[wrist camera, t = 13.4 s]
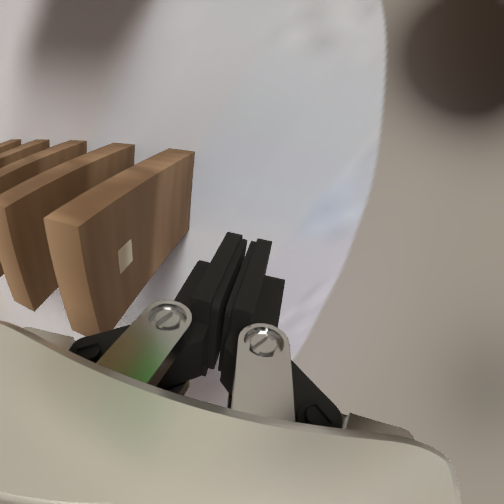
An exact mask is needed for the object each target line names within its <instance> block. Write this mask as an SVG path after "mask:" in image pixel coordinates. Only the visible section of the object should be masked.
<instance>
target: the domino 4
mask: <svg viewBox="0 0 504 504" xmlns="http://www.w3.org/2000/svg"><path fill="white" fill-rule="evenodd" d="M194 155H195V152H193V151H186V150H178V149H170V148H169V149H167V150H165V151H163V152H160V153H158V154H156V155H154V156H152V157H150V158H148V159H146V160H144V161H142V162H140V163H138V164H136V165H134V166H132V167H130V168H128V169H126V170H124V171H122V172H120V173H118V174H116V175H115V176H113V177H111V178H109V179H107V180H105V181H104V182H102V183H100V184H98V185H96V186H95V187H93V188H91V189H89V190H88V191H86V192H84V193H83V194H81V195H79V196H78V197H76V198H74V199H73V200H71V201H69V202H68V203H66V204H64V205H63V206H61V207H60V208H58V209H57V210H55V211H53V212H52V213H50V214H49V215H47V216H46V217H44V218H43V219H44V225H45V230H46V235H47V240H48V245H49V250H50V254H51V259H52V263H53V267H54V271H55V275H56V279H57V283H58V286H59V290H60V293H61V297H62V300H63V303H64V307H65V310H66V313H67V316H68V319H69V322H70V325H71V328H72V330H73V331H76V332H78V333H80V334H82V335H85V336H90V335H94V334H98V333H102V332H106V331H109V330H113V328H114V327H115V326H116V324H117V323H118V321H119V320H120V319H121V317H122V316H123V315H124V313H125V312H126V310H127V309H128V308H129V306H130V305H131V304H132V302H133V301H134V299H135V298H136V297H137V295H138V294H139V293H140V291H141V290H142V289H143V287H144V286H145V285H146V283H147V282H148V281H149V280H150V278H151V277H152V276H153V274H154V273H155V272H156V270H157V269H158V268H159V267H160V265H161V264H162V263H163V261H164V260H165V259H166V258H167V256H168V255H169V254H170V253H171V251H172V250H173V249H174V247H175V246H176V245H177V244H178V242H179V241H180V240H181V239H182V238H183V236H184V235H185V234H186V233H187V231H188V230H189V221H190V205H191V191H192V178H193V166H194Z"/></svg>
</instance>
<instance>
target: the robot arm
mask: <svg viewBox="0 0 504 504" xmlns="http://www.w3.org/2000/svg"><path fill="white" fill-rule="evenodd" d="M246 245H247V240H245V239H242V235H240V234H235V233H231V232H227V234H226V236H225V237H224V239H223V241H222V243H221V245H220V246H219V248H218V250H217V252H216V254H215V255H214V257H213V259H212V261H211V263H209V262H205V261H198V262H197V264H196V265H195V267H194V269H193V270H192V272H191V273H190V275H189V277H188V278H187V280H186V282H185V283H184V285H183V287H182V288H181V290H180V291H179V293H178V295H177V296H176V298H175V300H174V301H173V300H163V301H158V302H155V303H153V304H151V305H150V306H148V307H147V308H146V309H145V310H144V311H143V312H142V313H141V315H140V316H139V317H138V318H137V319H136V320H135V321H134V322H133V323H132V324H131V325H128V326H124V327H120V328H117V329H113V330H109V331H106V332H102V333H98V334H94V335H90V336H87V337H83V338H81V339H78V340H77V341H74V338H73V337H70V336H66V335H61V334H56V333H52V332H48V331H44V330H39V329H35V328H31V327H24V328H21V327H19V326H16V325H14V324H11V323H8V322H5V321H1V320H0V504H462V503H461V497H460V490H459V485H458V480H457V477H456V473H455V470H454V468H453V466H452V464H451V462H450V461H449V459H448V458H447V457H446V456H445V455H444V454H443V453H441V452H440V451H438V450H437V449H435V448H433V447H431V446H429V445H427V444H424V443H422V442H419V441H416V440H415V439H414V437H413V435H412V434H411V433H410V432H409V431H408V430H406V429H403V428H401V427H397V426H393V425H390V424H386V423H382V422H379V421H375V420H372V419H369V418H365V417H362V416H359V415H356V414H352V413H349V415H345V414H342V413H340V411H339V410H338V408H337V407H336V406H335V405H334V404H333V403H332V401H330V399H328V398H327V396H326V395H325V394H324V393H323V392H322V391H321V390H320V389H319V388H318V387H317V386H316V385H315V384H314V383H313V382H312V381H311V380H310V379H309V378H308V377H307V376H306V375H305V374H304V373H303V372H302V371H301V370H300V369H299V368H298V366H297V365H296V364H295V363H294V362H293V361H292V360H291V355H290V344H289V340H288V337H287V336H286V335H285V333H284V332H283V331H281V330H280V329H279V328H278V322H279V316H280V309H281V303H282V297H283V290H284V284H285V280H283V279H279V278H274V277H270V276H265V273H266V269H267V264H268V259H269V254H270V250H271V245H272V241H267V240H263V239H257V242H254V241H251V243H250V245H249V248H248V251H247V253H246V256H245V251H246ZM219 353H220V358H219V367H218V371H221V378H220V381H221V383H222V384H223V386H224V387H225V388H226V390H227V391H228V392H229V393H228V400H227V408H225V407H221V406H217V405H214V404H210V403H206V402H203V401H199V400H196V399H192V398H189V397H186V396H184V394H185V393H186V391H187V389H188V388H189V386H190V384H191V379H194V378H196V377H199V376H201V375H202V376H206V373H207V370H208V368H210V369H214V367H215V365H216V362H217V359H218V356H219Z"/></svg>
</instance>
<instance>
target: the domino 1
mask: <svg viewBox="0 0 504 504" xmlns="http://www.w3.org/2000/svg"><path fill="white" fill-rule="evenodd" d="M20 145H21V139H17V140H9V141H6V142H3V143H1V144H0V153H3V152H5V151H8V150H10V149H13V148H15V147H18V146H20Z"/></svg>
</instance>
